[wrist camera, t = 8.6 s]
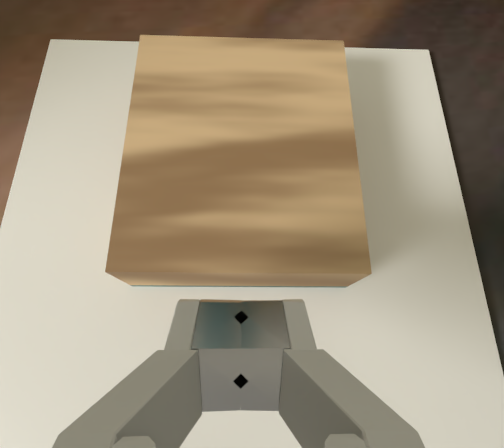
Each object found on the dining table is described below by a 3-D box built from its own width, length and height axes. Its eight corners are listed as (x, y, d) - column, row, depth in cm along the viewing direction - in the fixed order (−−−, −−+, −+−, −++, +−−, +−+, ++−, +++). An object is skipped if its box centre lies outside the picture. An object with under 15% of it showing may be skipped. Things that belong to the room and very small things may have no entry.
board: (512, 450, 17) (521, 453, 17) (-51, 455, 16) (-62, 460, 16) (424, 56, 26) (428, 49, 25) (54, 46, 25) (50, 39, 24)
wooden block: (371, 273, 15) (343, 40, 20) (105, 272, 15) (140, 34, 20) (345, 287, 19) (327, 88, 24) (132, 286, 19) (156, 84, 23)
